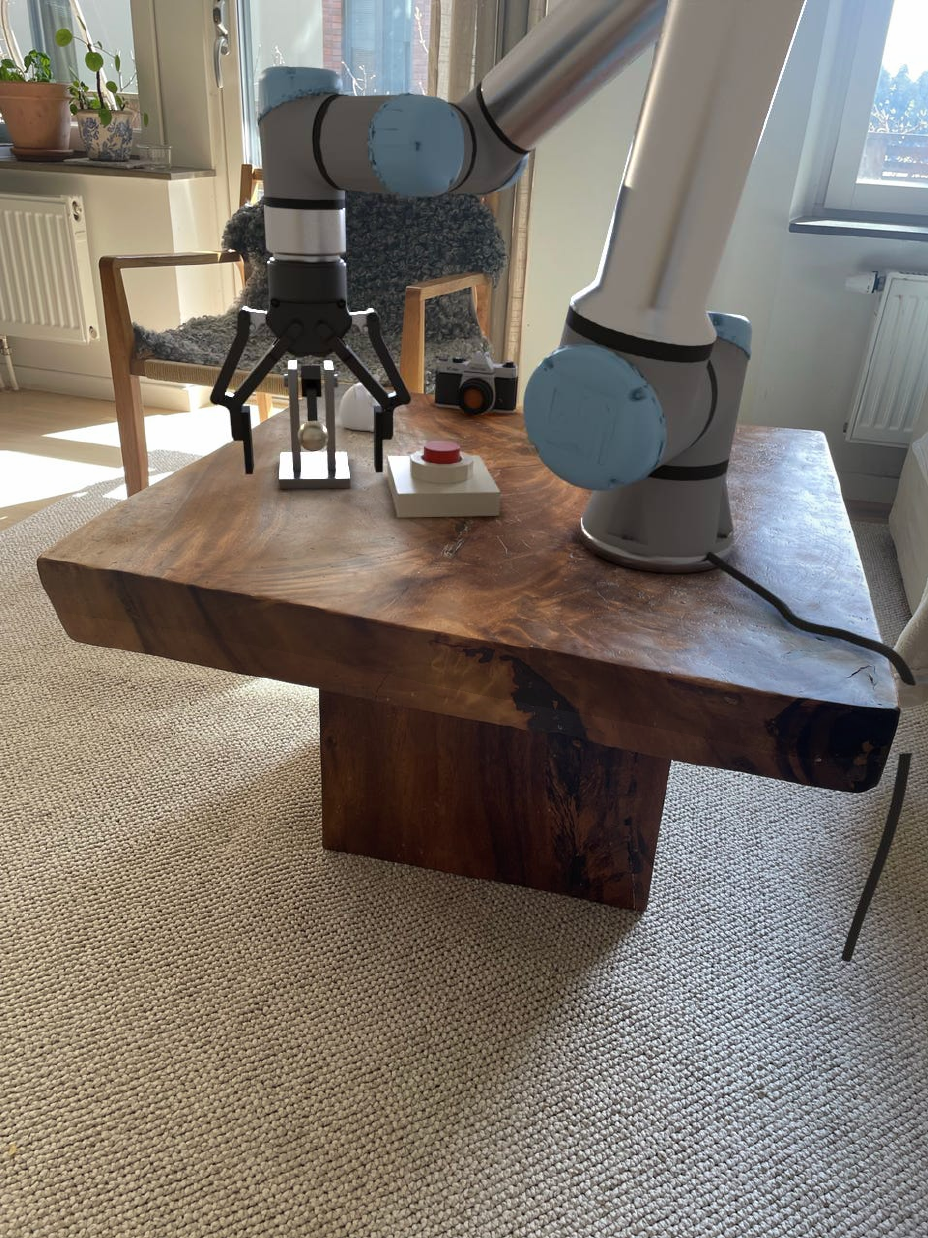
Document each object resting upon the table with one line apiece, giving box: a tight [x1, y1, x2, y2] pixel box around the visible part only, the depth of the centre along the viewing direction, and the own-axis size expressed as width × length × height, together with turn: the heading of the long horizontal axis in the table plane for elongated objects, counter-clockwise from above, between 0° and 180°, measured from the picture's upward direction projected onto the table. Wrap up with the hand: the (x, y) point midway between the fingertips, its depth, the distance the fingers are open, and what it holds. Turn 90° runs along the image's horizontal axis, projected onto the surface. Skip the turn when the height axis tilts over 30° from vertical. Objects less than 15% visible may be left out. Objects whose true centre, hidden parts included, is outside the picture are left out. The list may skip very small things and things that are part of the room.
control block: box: [386, 449, 501, 518], centre depth 100 cm, size 13×11×4 cm
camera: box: [433, 350, 519, 417], centre depth 133 cm, size 13×8×9 cm, turn 81°
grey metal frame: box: [278, 360, 351, 490], centre depth 102 cm, size 10×8×13 cm
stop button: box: [423, 440, 461, 464], centre depth 98 cm, size 4×4×2 cm
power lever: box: [298, 364, 328, 452], centre depth 97 cm, size 13×3×3 cm, turn 9°
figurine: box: [338, 373, 380, 433], centre depth 123 cm, size 8×6×7 cm
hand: (314, 469), depth 95 cm, fingers open, 13 cm apart
